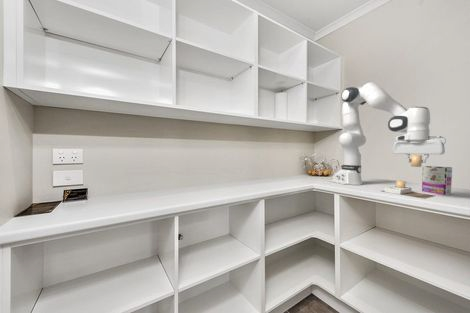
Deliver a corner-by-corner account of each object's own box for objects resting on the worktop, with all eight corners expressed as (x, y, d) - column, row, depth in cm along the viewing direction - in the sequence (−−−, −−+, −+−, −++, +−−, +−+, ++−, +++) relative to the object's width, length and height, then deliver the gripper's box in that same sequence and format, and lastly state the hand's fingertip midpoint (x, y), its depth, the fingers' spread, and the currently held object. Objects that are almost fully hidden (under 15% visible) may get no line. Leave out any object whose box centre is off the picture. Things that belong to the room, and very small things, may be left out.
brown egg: (409, 166, 104) (410, 155, 103) (412, 166, 106) (413, 155, 105) (419, 167, 100) (420, 155, 100) (422, 166, 102) (423, 155, 102)
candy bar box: (451, 196, 106) (453, 167, 106) (445, 197, 105) (446, 167, 105) (427, 192, 117) (428, 165, 117) (421, 192, 116) (422, 165, 116)
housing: (384, 191, 112) (384, 181, 112) (396, 189, 119) (396, 179, 119) (400, 194, 106) (400, 183, 106) (411, 192, 112) (411, 181, 112)
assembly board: (379, 192, 114) (379, 191, 114) (392, 190, 121) (392, 188, 121) (424, 200, 97) (424, 198, 96) (436, 197, 104) (436, 195, 104)
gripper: (447, 136, 95) (446, 163, 95) (396, 138, 113) (395, 161, 113) (443, 135, 92) (442, 164, 92) (392, 137, 109) (391, 161, 110)
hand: (416, 162), depth 103 cm, fingers closed on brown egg, 4 cm apart
